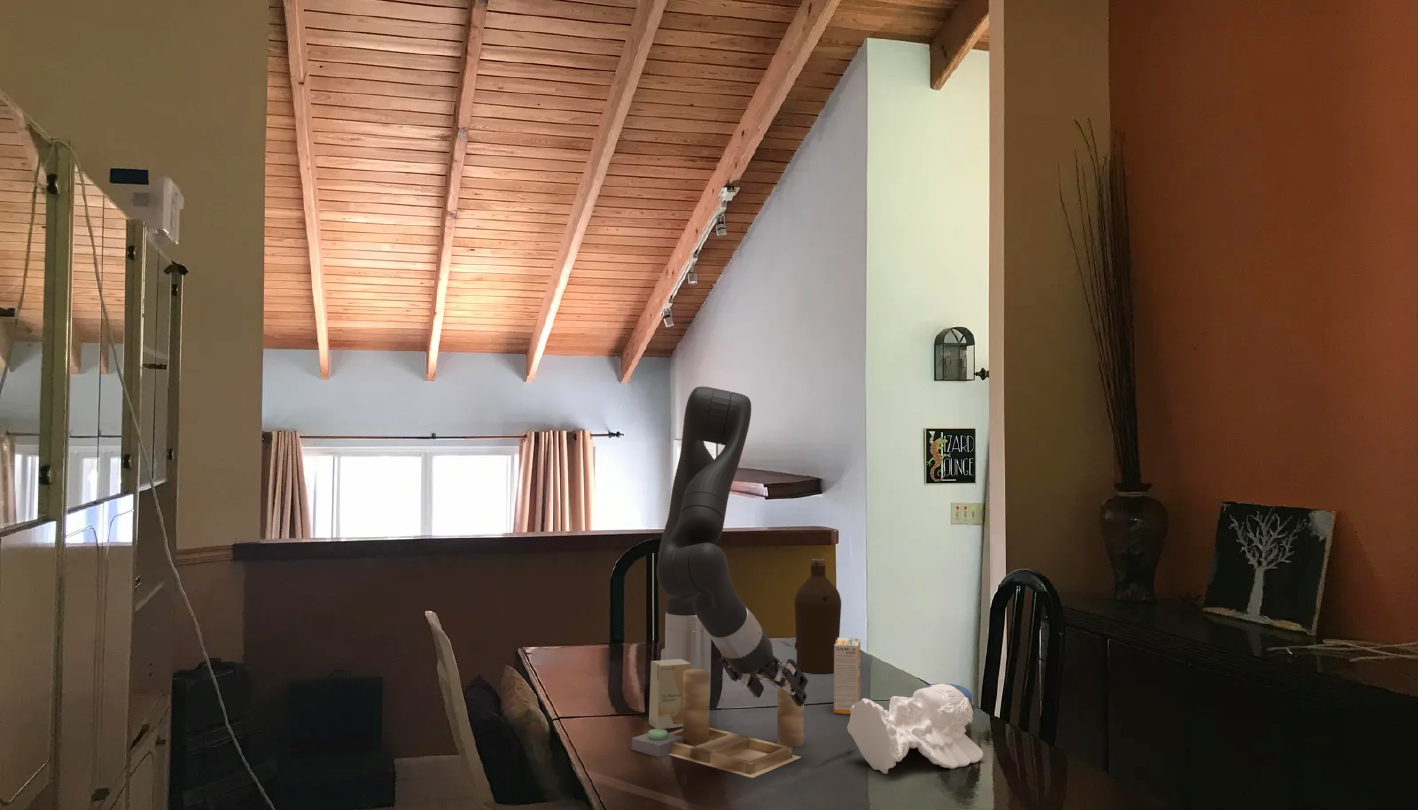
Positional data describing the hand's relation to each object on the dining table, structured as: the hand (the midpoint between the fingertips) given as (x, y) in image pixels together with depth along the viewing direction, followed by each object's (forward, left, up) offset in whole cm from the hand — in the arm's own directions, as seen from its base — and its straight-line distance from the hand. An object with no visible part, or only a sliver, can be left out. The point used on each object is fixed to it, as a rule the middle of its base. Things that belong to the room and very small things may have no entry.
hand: (780, 697), depth 162 cm
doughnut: (+7, +47, -10) cm, 48 cm away
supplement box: (-6, +32, -9) cm, 34 cm away
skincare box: (-22, -2, -9) cm, 24 cm away
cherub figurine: (+18, +12, -10) cm, 24 cm away
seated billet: (-11, -9, -8) cm, 16 cm away
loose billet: (0, +3, -9) cm, 10 cm away
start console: (-14, -14, -9) cm, 22 cm away
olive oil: (-29, +57, -9) cm, 65 cm away
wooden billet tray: (-5, -9, -9) cm, 14 cm away
